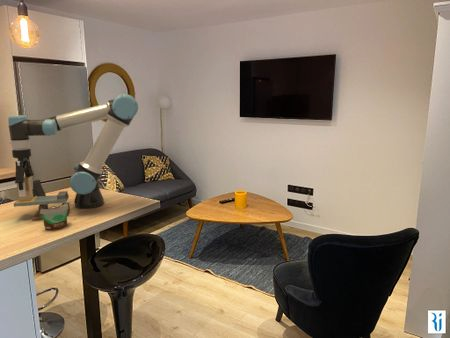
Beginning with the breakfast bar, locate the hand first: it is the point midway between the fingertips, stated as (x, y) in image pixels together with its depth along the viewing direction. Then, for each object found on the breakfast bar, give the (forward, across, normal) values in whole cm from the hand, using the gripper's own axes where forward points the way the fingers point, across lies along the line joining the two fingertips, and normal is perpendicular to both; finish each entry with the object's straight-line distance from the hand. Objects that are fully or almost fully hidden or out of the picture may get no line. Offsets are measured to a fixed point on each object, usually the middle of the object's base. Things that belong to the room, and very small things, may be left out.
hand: (26, 192), depth 161 cm
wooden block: (+4, 0, -1) cm, 4 cm away
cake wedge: (+13, +20, +16) cm, 28 cm away
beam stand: (+12, 0, +10) cm, 16 cm away
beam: (+4, 0, +6) cm, 8 cm away
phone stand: (+13, -28, -3) cm, 31 cm away
